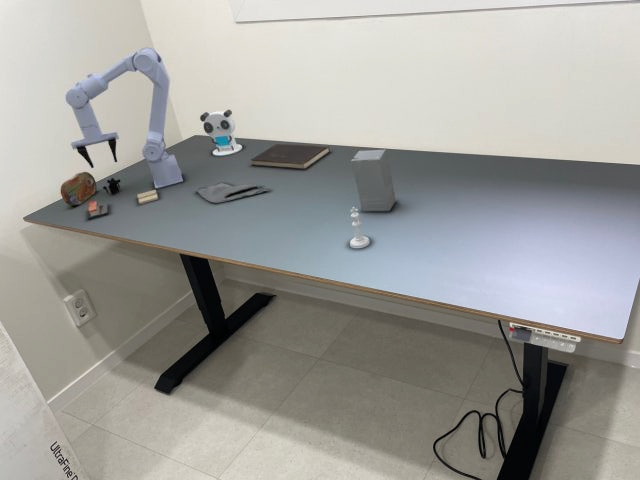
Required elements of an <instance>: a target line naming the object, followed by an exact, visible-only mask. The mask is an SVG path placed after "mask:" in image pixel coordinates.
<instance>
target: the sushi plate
mask: <svg viewBox="0 0 640 480" xmlns="http://www.w3.org/2000/svg"><path fill="white" fill-rule="evenodd" d="M108 215H109V205H108V203H105V204H102V205H99V204H98V201H97V200H94V201H90V202H88V208H87V219H88V221H90V220H94V219H98V218H101V217H105V216H108Z"/></svg>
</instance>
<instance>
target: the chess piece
mask: <svg viewBox="0 0 640 480" xmlns="http://www.w3.org/2000/svg"><path fill="white" fill-rule="evenodd" d="M358 211H359V209H358V208H355V206H352V209H350V213H351V214H350V218H351V219H352V221H353V222H352V223H351V225H352V226H353V227H354V233H355V235H354V237H353V238H352V239H350V241H349V246H350V248H353V249H362V248H365V247H368V246H369V245H370V239H369V237H367V236H364V235H363V234H362V232H361V231H362V230H361V228H360V225H361V224H362V223H361V221H360V220H359V217H360V213H358Z"/></svg>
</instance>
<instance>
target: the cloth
mask: <svg viewBox="0 0 640 480" xmlns="http://www.w3.org/2000/svg"><path fill="white" fill-rule="evenodd" d="M195 191H196V193H197V194H198V195H199V196H200V197H202V198H203V199H204V200H206V201H207V202H210V203H214V204H220V203H224V202H229V201H234V200H239V199H241V198H246V197H249V196H254V195H259V194H261V193H266V192H269V191H270V190H269V189H264V188H261V186H258V185H256V184H255V185H254V184H241V185H234V186H233V185H230V184H227V183H222V182H220V183H218V184H215V185H211V186H207V187H206V188H204V187H203V188H202V187H201V188H200V189H196V190H195Z"/></svg>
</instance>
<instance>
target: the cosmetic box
mask: <svg viewBox="0 0 640 480" xmlns="http://www.w3.org/2000/svg"><path fill="white" fill-rule="evenodd" d="M387 152H388V151H387V149H372V150H371V149H370V150H369V149H368V150H358V152H356V154H355V155H354V157H353V158H352V159H351V161H350V163H351V166H352V170H353V174H354V180H355V184H356V188H357V193H358V198H359V201H360V206H361V210H362V212H390V211H391V209H392V207H393V206H394V204H395V203H396V201H397V199H396V194H395V189H394V184H393V177H392V173H391V167H390V162H389V156H388V153H387Z"/></svg>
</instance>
